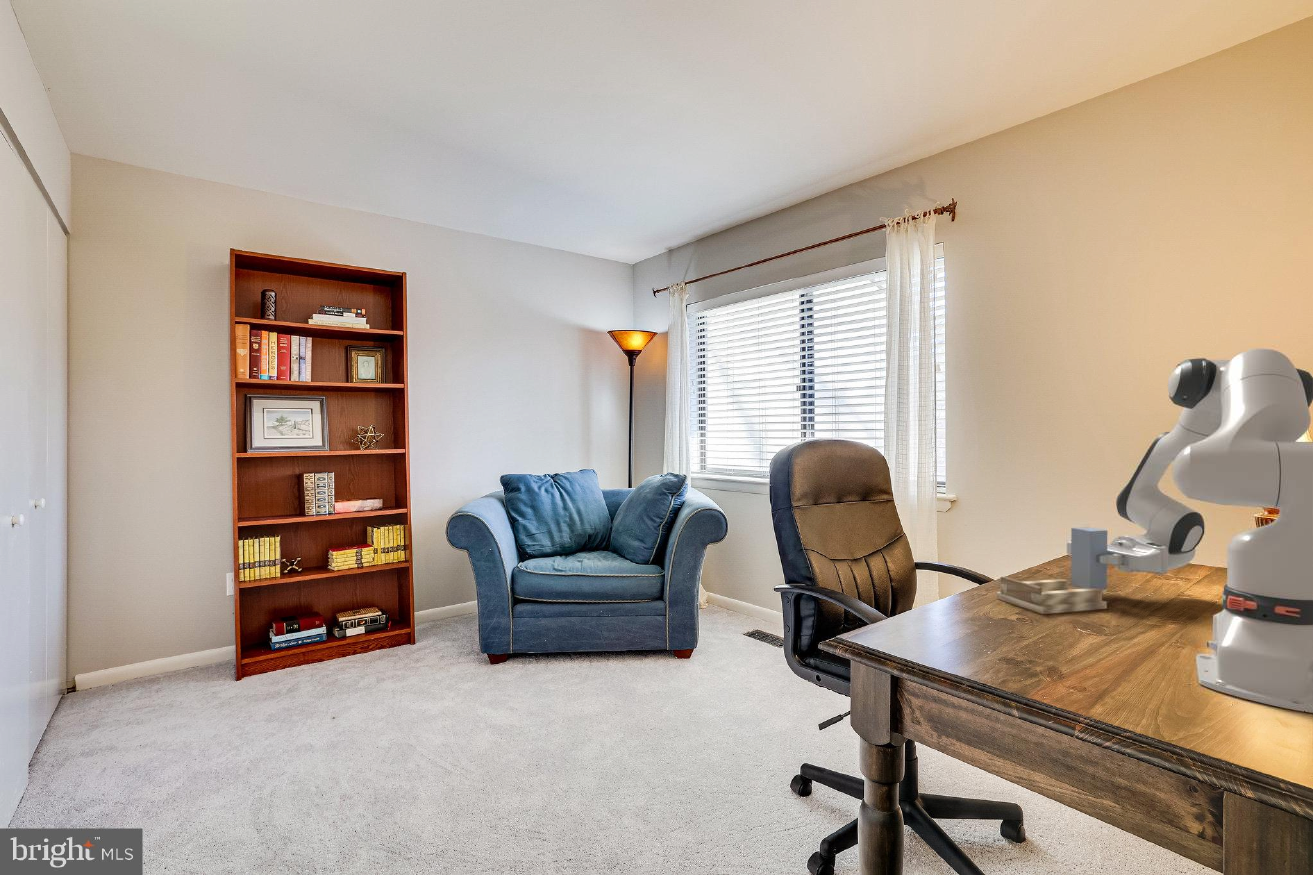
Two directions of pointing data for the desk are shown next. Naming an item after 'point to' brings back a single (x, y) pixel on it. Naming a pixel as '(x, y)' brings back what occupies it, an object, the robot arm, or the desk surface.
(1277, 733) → the desk surface
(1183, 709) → the desk surface
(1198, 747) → the desk surface
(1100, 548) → the slate block
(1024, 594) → the shallow wooden tray
